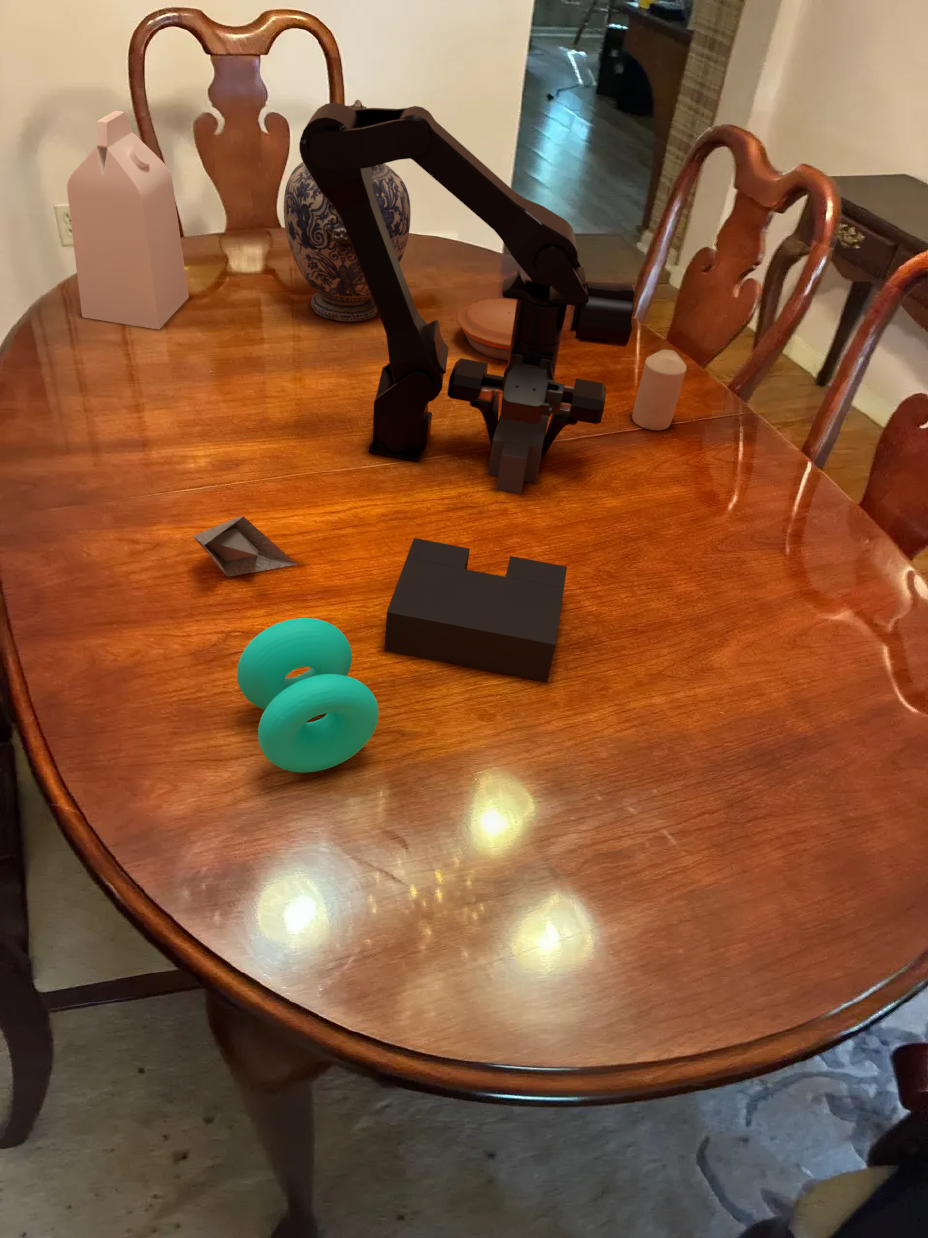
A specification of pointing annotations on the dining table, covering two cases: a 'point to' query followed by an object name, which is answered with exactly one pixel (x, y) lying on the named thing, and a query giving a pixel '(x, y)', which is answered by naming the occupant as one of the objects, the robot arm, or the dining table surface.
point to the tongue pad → (516, 452)
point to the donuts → (306, 695)
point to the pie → (489, 326)
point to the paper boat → (241, 548)
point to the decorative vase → (339, 240)
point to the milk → (126, 231)
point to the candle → (659, 390)
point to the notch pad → (476, 611)
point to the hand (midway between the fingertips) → (517, 451)
